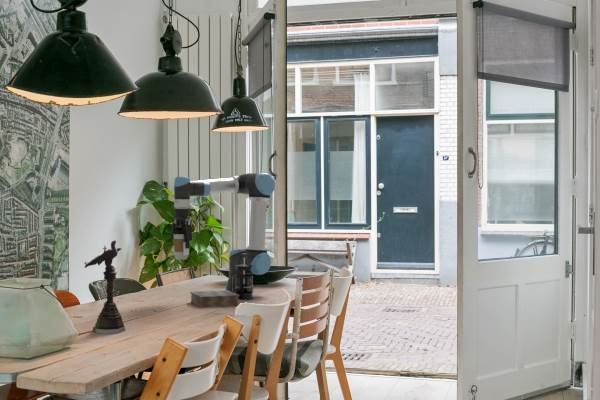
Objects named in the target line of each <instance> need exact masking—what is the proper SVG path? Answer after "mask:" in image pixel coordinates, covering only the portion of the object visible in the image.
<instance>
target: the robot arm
mask: <svg viewBox="0 0 600 400" xmlns="http://www.w3.org/2000/svg"><path fill="white" fill-rule="evenodd" d="M173 184H174V185H173V193H174V194H173V195H174V197H173V198H174V199H173V202H174V203H173V207H174V209H173V216H174V217H175V219H171V223H172V225H171V233H170V234H171V236H170V239H171V240H172V241H173V242H174V239H173V238H174V234H173V232H174V229H176V230H181V229H182V230H186V231H184V240H185V241H183V242H184V243H183V255H188V256H189V255H190V242H191V241H193V231H192V220H191V219H190V220H189V218H188V217H189V216H190V212H191V211H190V206H191V205H190V203H191V202H190V197H208V196H209V195H210V194H211V195H212V194H222V193H231V194H240V195H241V194H242V195H248V196H247V197H248V199H249V200H250V215H249V217H250V218H249V232H248V233H249V234H248V236H249V237H248V246H247V247H246V248H238V249H237V248H236V249H231V250H230V251H229V255H228V263H229V264H228V269H229V270H228V279H227V281H226V282H227V283H226V285H225V290H228V291H230V292H231V276H232V275H237V274H250V275H256V276H257V275H259V276H261V275H264V274H265V273H267V272H268V271H269V270H270V267H271V265H272V258H271V257H270V254H268V249H267V247H266V246H265V245H266V227H267V210H268V209H267V208H268V207H267V205H268V201H269V200H271V195H272V194H273V192H275V189H276V183H275V179H274V178H273V177H272V176H271V174H269V173H266V172H265V173H264V172H254V173H244V174H239V175H231V176H230V177H229V178H228V177H227V178H226V177H225V178H214V179H213V178H212V179H200V180H191V178H190V177H189V176H176V177H175V178H174V183H173ZM242 253H246V254H248V255H245V264H247V265H253V266H252V268H251V269H249V270H247V271H243V270H236V266H235V265H241V264H244V257H243V255H241V254H242ZM173 255H175V251H174V250H173ZM237 285H240V278H236V286H237ZM247 285H250V286H252V278H249V279H248V284H247ZM236 291H240V288H236ZM247 291H251V292H252V288H247ZM233 292H235V276H233Z"/></svg>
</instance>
